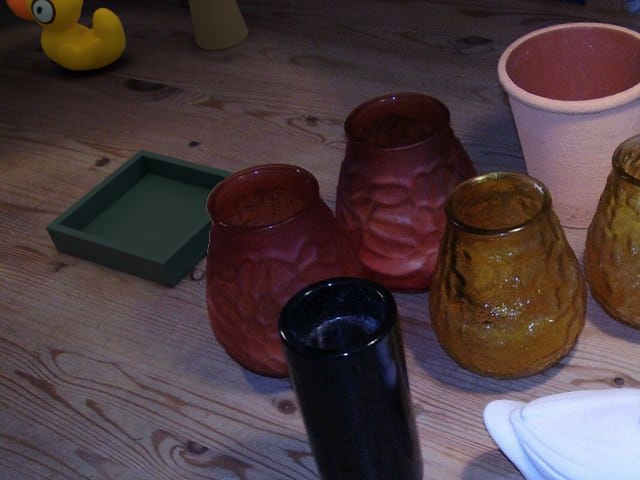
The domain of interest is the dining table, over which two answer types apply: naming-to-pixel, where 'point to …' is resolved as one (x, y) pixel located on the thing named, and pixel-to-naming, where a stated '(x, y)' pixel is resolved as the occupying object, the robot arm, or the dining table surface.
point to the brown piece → (217, 23)
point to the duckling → (74, 33)
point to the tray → (143, 218)
